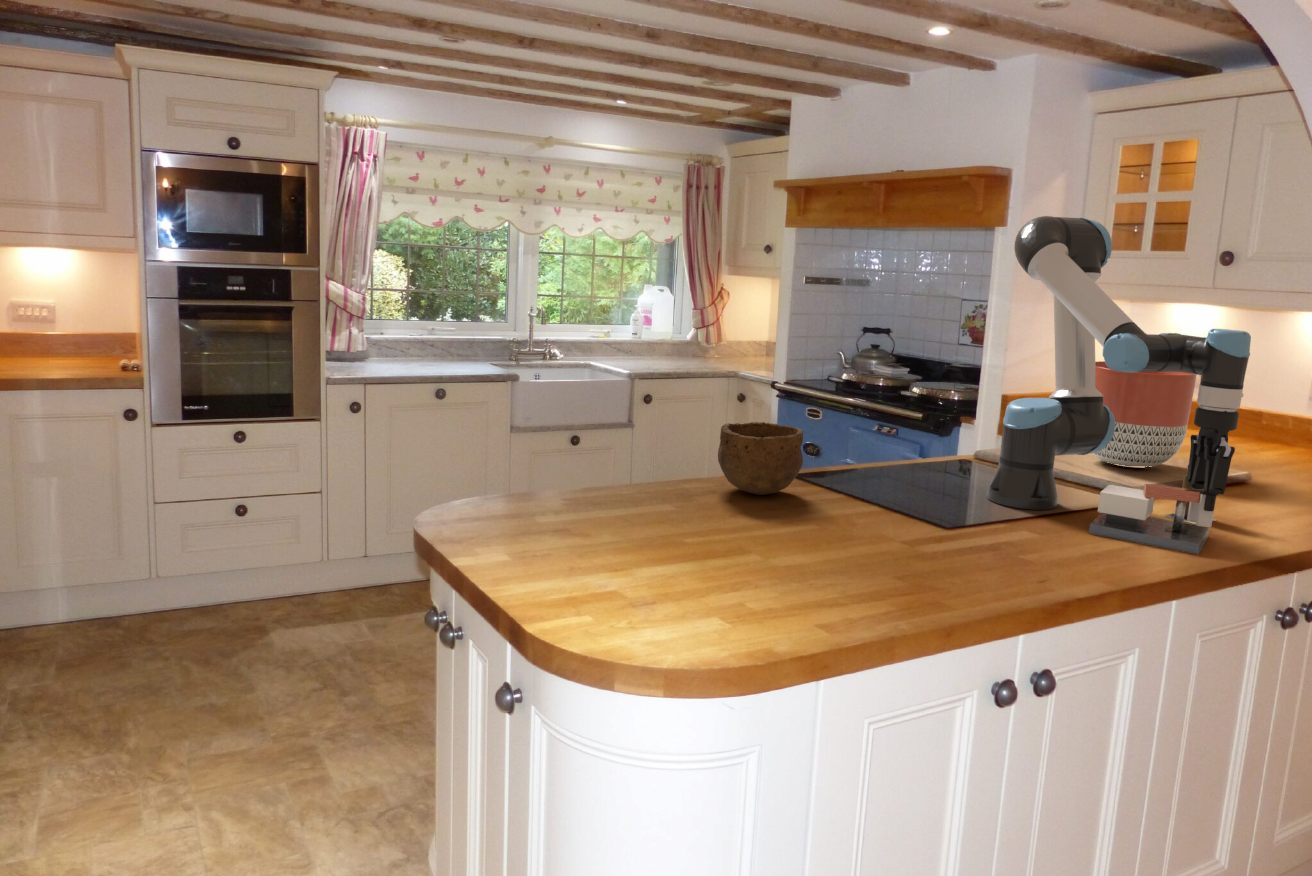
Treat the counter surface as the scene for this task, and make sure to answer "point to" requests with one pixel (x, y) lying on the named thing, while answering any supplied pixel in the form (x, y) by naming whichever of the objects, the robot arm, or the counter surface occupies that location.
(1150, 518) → the latch plate
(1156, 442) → the planter
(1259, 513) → the counter surface
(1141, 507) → the cover
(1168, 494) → the t key
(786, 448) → the bowl
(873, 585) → the counter surface
